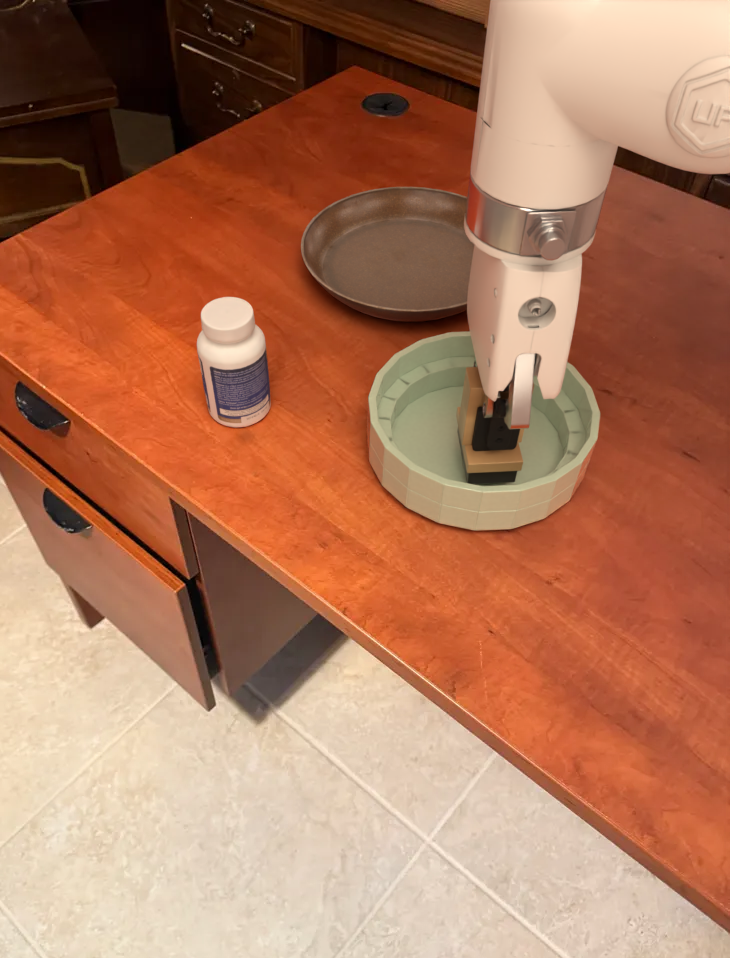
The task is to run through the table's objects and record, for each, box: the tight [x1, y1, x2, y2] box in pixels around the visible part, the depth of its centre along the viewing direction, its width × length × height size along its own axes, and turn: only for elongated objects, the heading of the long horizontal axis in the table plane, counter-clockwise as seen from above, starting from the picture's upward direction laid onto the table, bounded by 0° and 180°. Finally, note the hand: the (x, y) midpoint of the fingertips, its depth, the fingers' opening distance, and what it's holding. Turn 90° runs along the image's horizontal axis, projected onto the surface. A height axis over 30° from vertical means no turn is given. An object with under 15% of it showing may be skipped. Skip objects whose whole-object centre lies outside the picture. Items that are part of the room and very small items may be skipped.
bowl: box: [366, 330, 601, 532], centre depth 64 cm, size 17×17×5 cm
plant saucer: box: [300, 186, 474, 322], centre depth 79 cm, size 21×21×3 cm
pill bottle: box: [196, 296, 272, 428], centre depth 66 cm, size 5×5×10 cm
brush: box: [456, 367, 534, 484], centre depth 60 cm, size 6×4×8 cm
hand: (490, 431), depth 61 cm, fingers closed on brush, 2 cm apart
